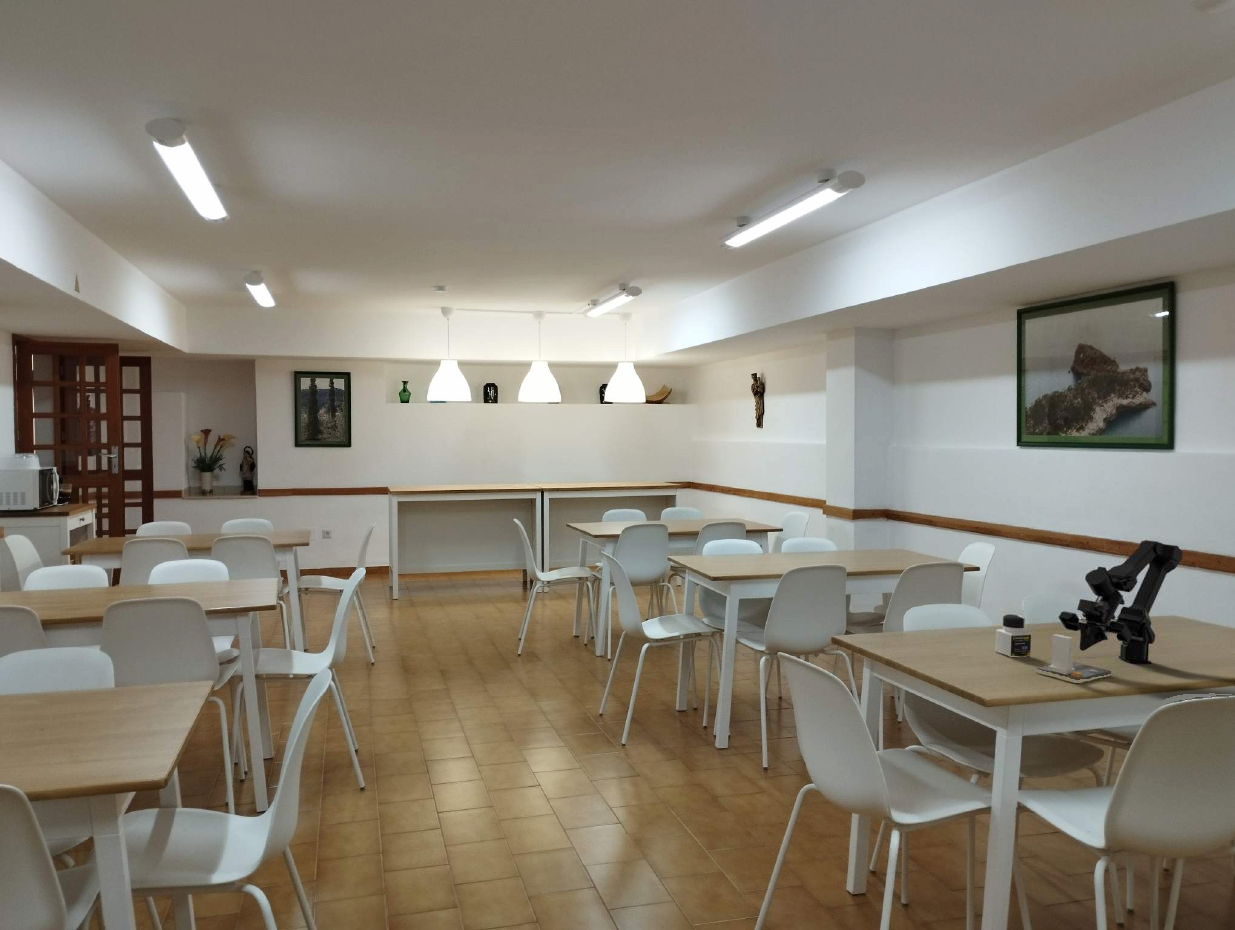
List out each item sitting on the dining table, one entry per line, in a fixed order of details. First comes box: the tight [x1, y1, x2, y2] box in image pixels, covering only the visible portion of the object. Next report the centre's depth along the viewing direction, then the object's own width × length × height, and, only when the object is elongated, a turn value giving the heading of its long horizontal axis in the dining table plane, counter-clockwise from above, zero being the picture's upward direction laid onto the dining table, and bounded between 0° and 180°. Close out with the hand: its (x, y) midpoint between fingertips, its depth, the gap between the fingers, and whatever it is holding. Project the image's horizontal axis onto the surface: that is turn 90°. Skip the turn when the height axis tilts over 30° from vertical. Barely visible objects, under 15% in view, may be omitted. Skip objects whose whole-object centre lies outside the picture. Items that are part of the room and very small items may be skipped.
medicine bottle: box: [994, 613, 1032, 657], centre depth 271 cm, size 7×7×12 cm
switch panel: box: [1035, 660, 1112, 680], centre depth 250 cm, size 16×12×2 cm
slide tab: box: [1048, 633, 1075, 675], centre depth 246 cm, size 4×5×10 cm
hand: (1081, 649), depth 251 cm, fingers closed
